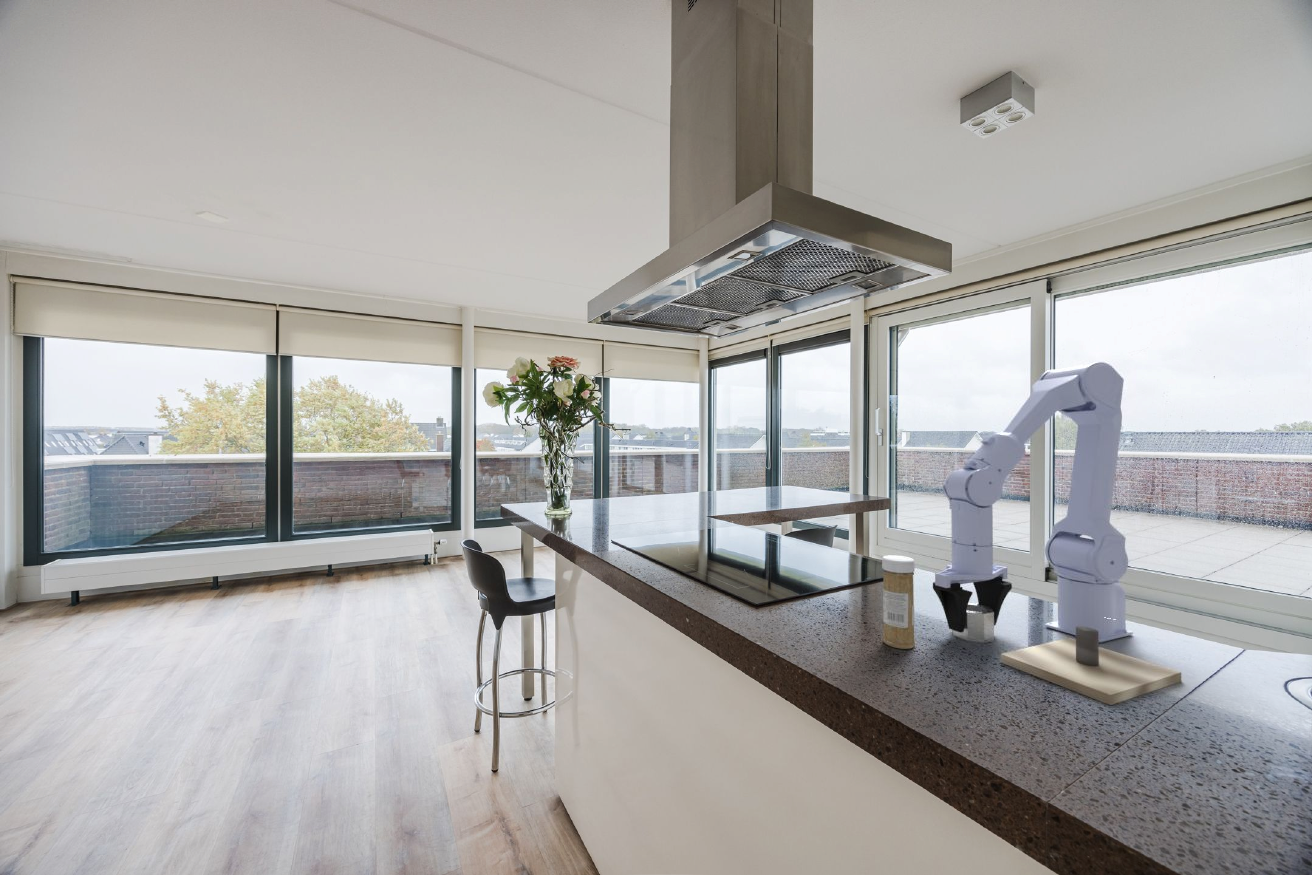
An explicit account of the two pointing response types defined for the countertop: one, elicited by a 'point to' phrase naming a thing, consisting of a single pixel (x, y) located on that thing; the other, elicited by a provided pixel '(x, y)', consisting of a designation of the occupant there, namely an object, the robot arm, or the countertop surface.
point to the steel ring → (978, 624)
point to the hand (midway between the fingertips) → (972, 626)
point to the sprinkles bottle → (898, 601)
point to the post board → (1091, 668)
